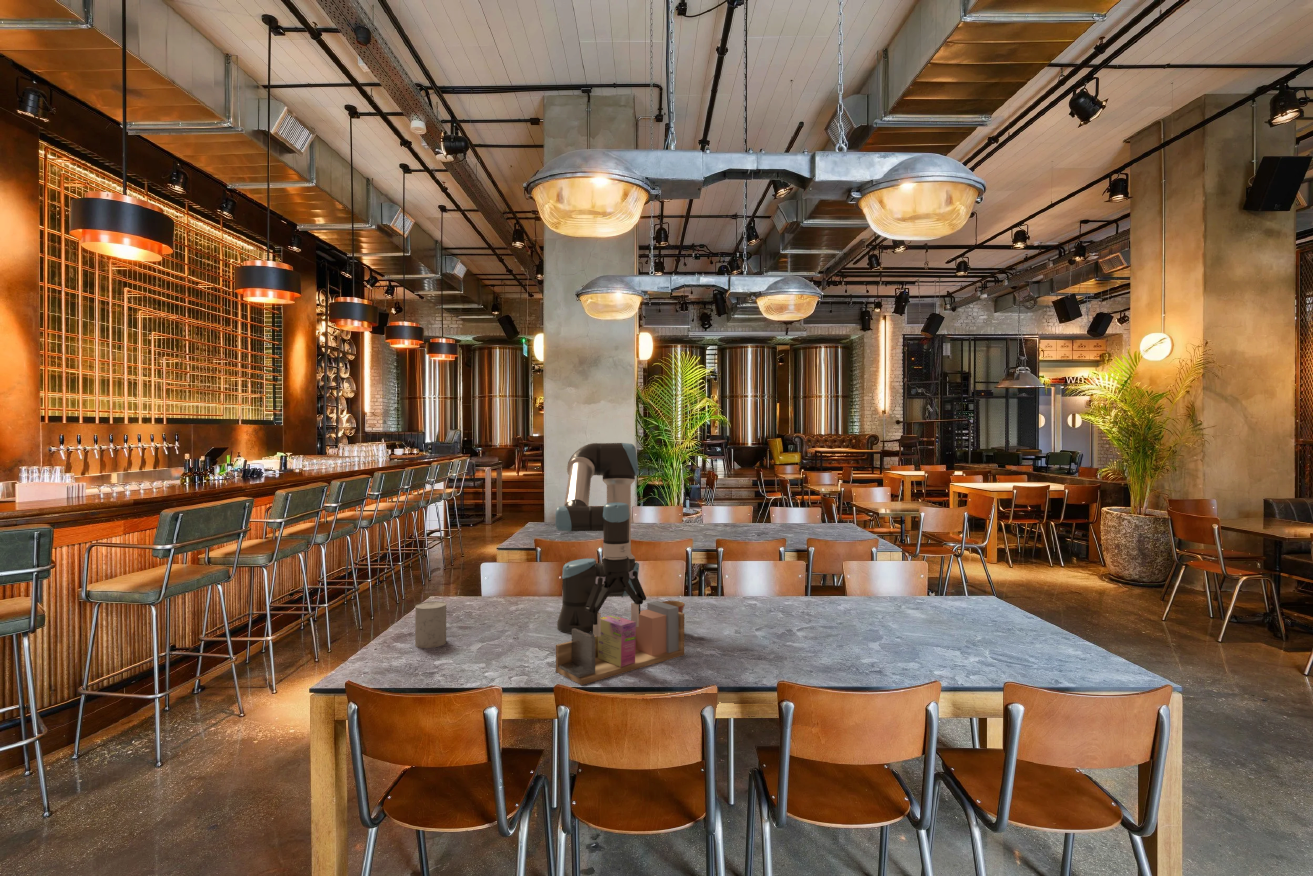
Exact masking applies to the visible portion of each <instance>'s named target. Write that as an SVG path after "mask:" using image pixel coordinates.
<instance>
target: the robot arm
mask: <svg viewBox="0 0 1313 876" xmlns="http://www.w3.org/2000/svg"><path fill="white" fill-rule="evenodd" d="M566 467H567V468H566V470H567V471H566V472H567V475H568V480H567V485H566V492H565V498H564V505H562V506H557V507H556V509H555V513H554V515H555V516H554V520H555V523H554V525H555V529H556V530H557V531H559V532H567V533H571V532H603V543H602V544H603V545H602V546H603V547H602V556H603V557H602V558H601V561H602V562H597V560H596V558H593V557H592V558H580V559H575V560H570V561H568V562H566V563H565V564H564V565H563V567H562V575H561V580H562V594H561V595H562V596H561V597H562V600H561V601H562V605H561V609H560V612H559V615H558V618H557V622H556V623H557V624H556V629H557V630H558V631H560V632H563V633H567V634H572V629H574V628H576V629H578V630H581V631H583V632H586V633H592V635H593V636H598V637H600V636H601V612H600V610H601V608H602V607H603V605H604V603H605V602H606V600H607V598H624V597H626V598H627V597H629V598H630V599H631V600H632V601H633V602H631V603H630V621H634V622H636V627H639V614H640V611H641V605H642V604H644V601H646V600H647V597H646V595H645V592H644V589H643V586H642V585H641V582H640V580H639V571H640V563H639V562H637V561H636V556H634V555H633V554H632V548H631V546H632V541H631V539H632V537H631V536H632V532H631V531H632V530H631V529H632V526H631V525H632V524H631V523H632V522H631V520H632V517H631V515H632V508H631V506H632V503H631V502H632V497H631V495H632V493H631V492H632V489H631V488H632V484H633V483H634V482H635V481H636V476H639V475H640V474H639V473H640V471H639V462H638V454H637V448H636V446H635V445H634V444H632V443H626V442H607V443H606V442H600V443H597V442H591V443H588V444H585V445H584V446H581V447H580V448H578V449H577V450H576V451H575V452H574V453H573V454H572V455H571V456H570V458H569V459H568V462H567V466H566ZM593 476H602V482H604V484H605V485H606V503H605V504H604V505H602V506H601V505H595V506H594V505H593V506H592V505H591V506H589V504H590V495H591V492H590V491H591V482H592V478H593Z"/></svg>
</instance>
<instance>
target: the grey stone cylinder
mask: <svg viewBox="0 0 1313 876" xmlns="http://www.w3.org/2000/svg"><path fill="white" fill-rule="evenodd" d="M447 604H448V603H447V602H445V601H440V600H438V601H437V600H435V601H432V600H431V601H425V602H424V601H423V602H420V603H418V604H416V605H415V607H414V609H415V611H414V612H415V614H414V615H415V616H414V617H415V619H414V621H415V622H414V623H415V624H414V625H415V626H414V627H415V630H414V632H415V634H414V636H415V638H414V640H415V642H414V646H415V647H417V648H420V649H430V648H431V649H433V648H437V647H441V646H443V645H445V644H446V643H448V642H447V641H448V640H447Z"/></svg>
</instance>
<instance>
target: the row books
mask: <svg viewBox="0 0 1313 876" xmlns="http://www.w3.org/2000/svg"><path fill="white" fill-rule="evenodd" d="M646 606H647V607H646V608H647V609H643V610H640V614H639V627H636V640H635V650H638V651H640V652H643V653H645V654H648V655H650V656H655V655H658V654H662V653H666V652H667V653H671V652H674V651H678V650H679V624H678V607H676V606H673V605H669V604H666V603H663V601H659V600H655V601H650V602H647V604H646Z"/></svg>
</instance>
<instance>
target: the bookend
mask: <svg viewBox="0 0 1313 876" xmlns="http://www.w3.org/2000/svg"><path fill="white" fill-rule="evenodd" d="M571 641H572V662H569V663H565V664H561V665H559V668H560V669H562V670H564V671H566V672H568V673H570V674H572V675H574V676H576V677H578V678H581V677H585V676H588V675H592V674H595V635H593V634H590V633H589V632H587V633H586V632H583V631H581V630H578V629H576V628H574V629H572V633H571Z"/></svg>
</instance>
